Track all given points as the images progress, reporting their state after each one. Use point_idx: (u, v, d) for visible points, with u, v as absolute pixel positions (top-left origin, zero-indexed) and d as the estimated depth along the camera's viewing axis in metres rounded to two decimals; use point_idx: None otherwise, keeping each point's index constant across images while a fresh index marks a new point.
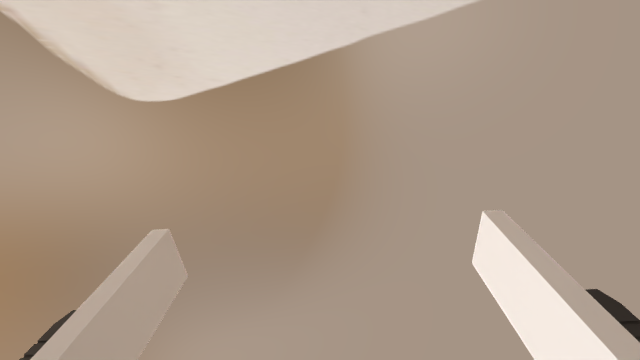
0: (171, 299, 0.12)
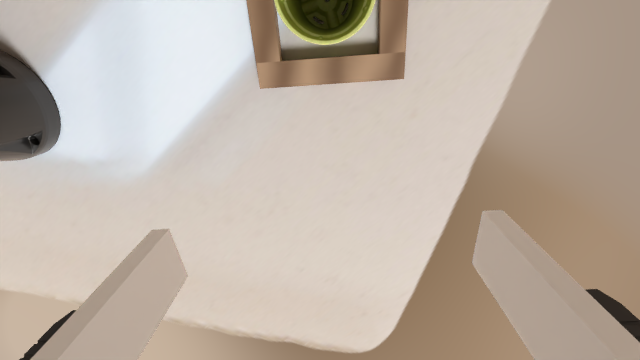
0: (171, 299, 0.12)
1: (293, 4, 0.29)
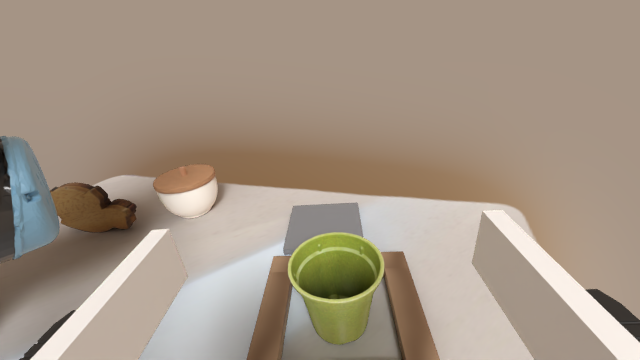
0: (171, 299, 0.12)
1: None
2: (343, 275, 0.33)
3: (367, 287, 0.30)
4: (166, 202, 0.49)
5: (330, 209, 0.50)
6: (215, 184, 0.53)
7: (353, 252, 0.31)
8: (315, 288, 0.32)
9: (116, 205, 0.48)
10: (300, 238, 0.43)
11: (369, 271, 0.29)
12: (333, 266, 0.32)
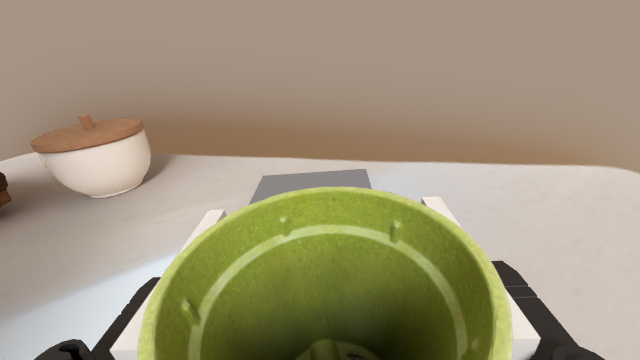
0: None
1: None
2: (347, 295, 0.13)
3: (413, 333, 0.11)
4: (51, 169, 0.30)
5: (322, 178, 0.30)
6: (142, 144, 0.34)
7: (372, 238, 0.12)
8: (276, 329, 0.13)
9: None
10: None
11: (422, 289, 0.10)
12: (321, 274, 0.13)
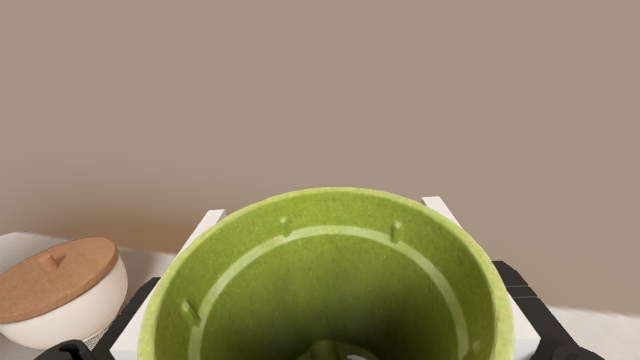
0: None
1: None
2: (347, 295, 0.13)
3: (413, 334, 0.11)
4: (3, 334, 0.25)
5: None
6: (116, 281, 0.29)
7: (372, 239, 0.12)
8: (276, 329, 0.13)
9: None
10: None
11: (422, 290, 0.10)
12: (321, 275, 0.13)
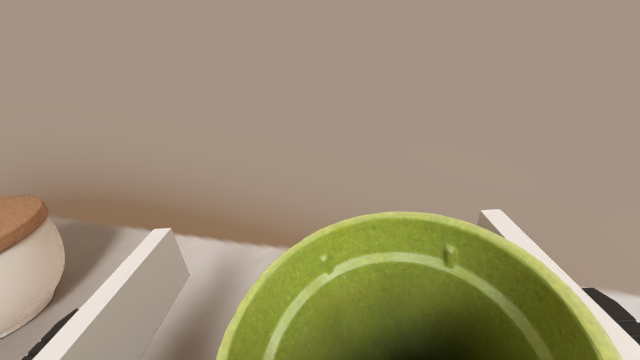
0: (173, 298, 0.12)
1: None
2: (403, 319, 0.13)
3: None
4: None
5: None
6: (35, 255, 0.20)
7: (423, 264, 0.11)
8: None
9: None
10: None
11: (492, 320, 0.09)
12: (372, 303, 0.12)
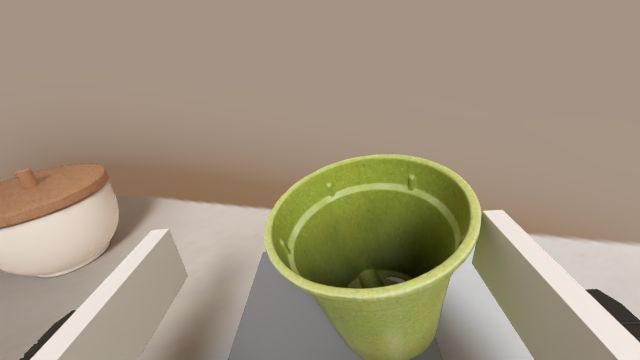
0: (171, 299, 0.12)
1: None
2: (381, 234, 0.18)
3: (431, 251, 0.16)
4: None
5: None
6: (103, 205, 0.26)
7: (395, 190, 0.16)
8: (333, 262, 0.18)
9: None
10: None
11: (434, 219, 0.15)
12: (360, 222, 0.18)
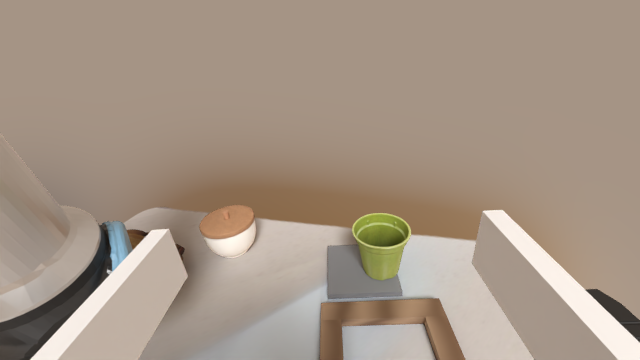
0: (171, 299, 0.12)
1: (360, 253, 0.47)
2: (382, 241, 0.51)
3: None
4: (213, 246, 0.53)
5: None
6: (255, 226, 0.57)
7: (389, 226, 0.49)
8: None
9: None
10: (341, 282, 0.47)
11: (400, 236, 0.47)
12: (375, 235, 0.51)
